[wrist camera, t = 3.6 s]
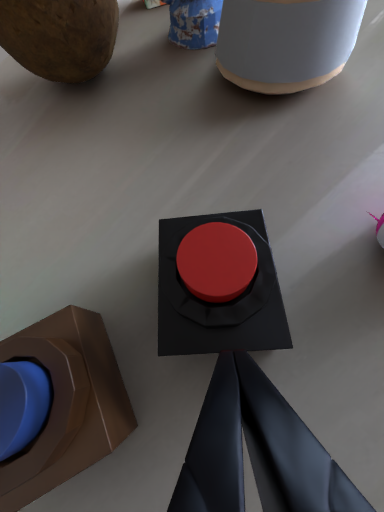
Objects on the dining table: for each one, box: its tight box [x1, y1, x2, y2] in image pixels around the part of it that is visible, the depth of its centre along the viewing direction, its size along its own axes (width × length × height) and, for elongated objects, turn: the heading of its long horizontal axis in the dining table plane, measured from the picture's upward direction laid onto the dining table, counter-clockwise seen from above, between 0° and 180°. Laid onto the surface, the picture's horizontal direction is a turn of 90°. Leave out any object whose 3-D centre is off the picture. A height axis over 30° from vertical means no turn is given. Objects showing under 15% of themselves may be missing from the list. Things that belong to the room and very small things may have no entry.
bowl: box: [0, 0, 119, 83], centre depth 32 cm, size 19×19×15 cm
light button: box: [176, 222, 257, 303], centre depth 14 cm, size 5×5×2 cm
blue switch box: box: [0, 305, 138, 512], centre depth 15 cm, size 10×8×6 cm
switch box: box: [158, 209, 293, 356], centre depth 18 cm, size 11×9×6 cm
